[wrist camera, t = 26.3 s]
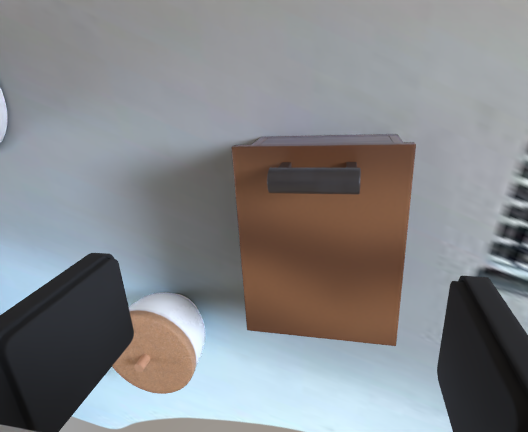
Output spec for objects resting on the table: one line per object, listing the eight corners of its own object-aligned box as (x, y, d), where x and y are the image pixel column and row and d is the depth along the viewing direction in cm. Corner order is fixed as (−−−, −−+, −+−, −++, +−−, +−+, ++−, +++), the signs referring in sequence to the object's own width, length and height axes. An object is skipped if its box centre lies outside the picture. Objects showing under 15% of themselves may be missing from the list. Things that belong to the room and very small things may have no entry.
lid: (234, 144, 27) (209, 159, 22) (414, 142, 24) (429, 158, 19) (249, 324, 33) (232, 367, 28) (394, 339, 30) (403, 389, 25)
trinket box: (163, 261, 43) (117, 307, 35) (233, 313, 44) (205, 371, 35) (127, 312, 48) (78, 364, 39) (191, 360, 48) (156, 421, 40)
